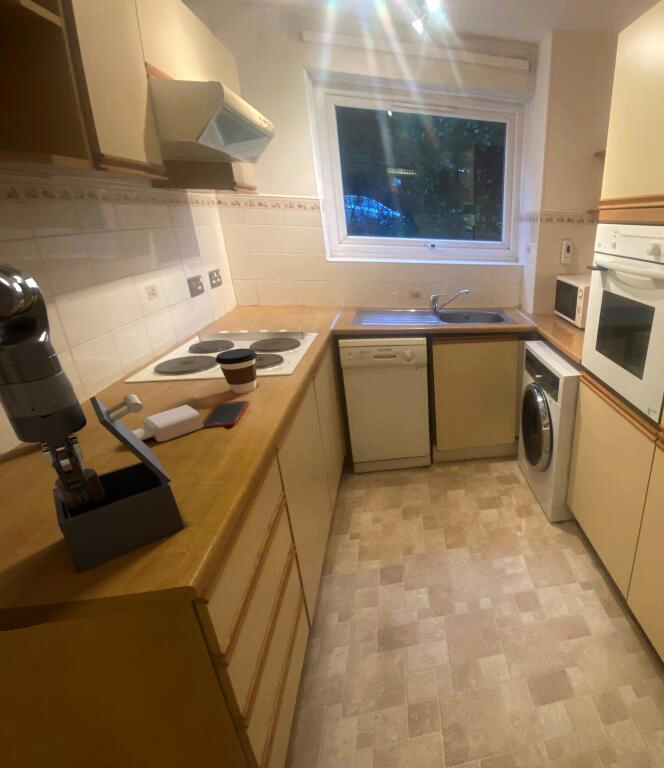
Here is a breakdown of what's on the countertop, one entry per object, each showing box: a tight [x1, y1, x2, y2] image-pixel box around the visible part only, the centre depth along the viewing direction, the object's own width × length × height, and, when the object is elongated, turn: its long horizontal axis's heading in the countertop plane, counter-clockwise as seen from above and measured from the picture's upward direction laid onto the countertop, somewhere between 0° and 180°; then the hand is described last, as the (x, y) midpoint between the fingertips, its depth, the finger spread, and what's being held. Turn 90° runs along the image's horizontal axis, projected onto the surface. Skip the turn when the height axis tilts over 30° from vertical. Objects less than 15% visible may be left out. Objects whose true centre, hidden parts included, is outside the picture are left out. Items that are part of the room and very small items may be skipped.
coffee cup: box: [215, 348, 258, 394], centre depth 134 cm, size 11×11×12 cm
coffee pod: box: [54, 468, 105, 509], centre depth 70 cm, size 5×5×4 cm
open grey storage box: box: [52, 460, 185, 572], centre depth 75 cm, size 14×13×10 cm
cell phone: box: [202, 400, 248, 429], centre depth 118 cm, size 8×15×1 cm, turn 18°
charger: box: [131, 404, 204, 443], centre depth 107 cm, size 5×9×15 cm
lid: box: [89, 393, 172, 484], centre depth 74 cm, size 14×13×5 cm
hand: (84, 498), depth 70 cm, fingers closed on coffee pod, 4 cm apart
